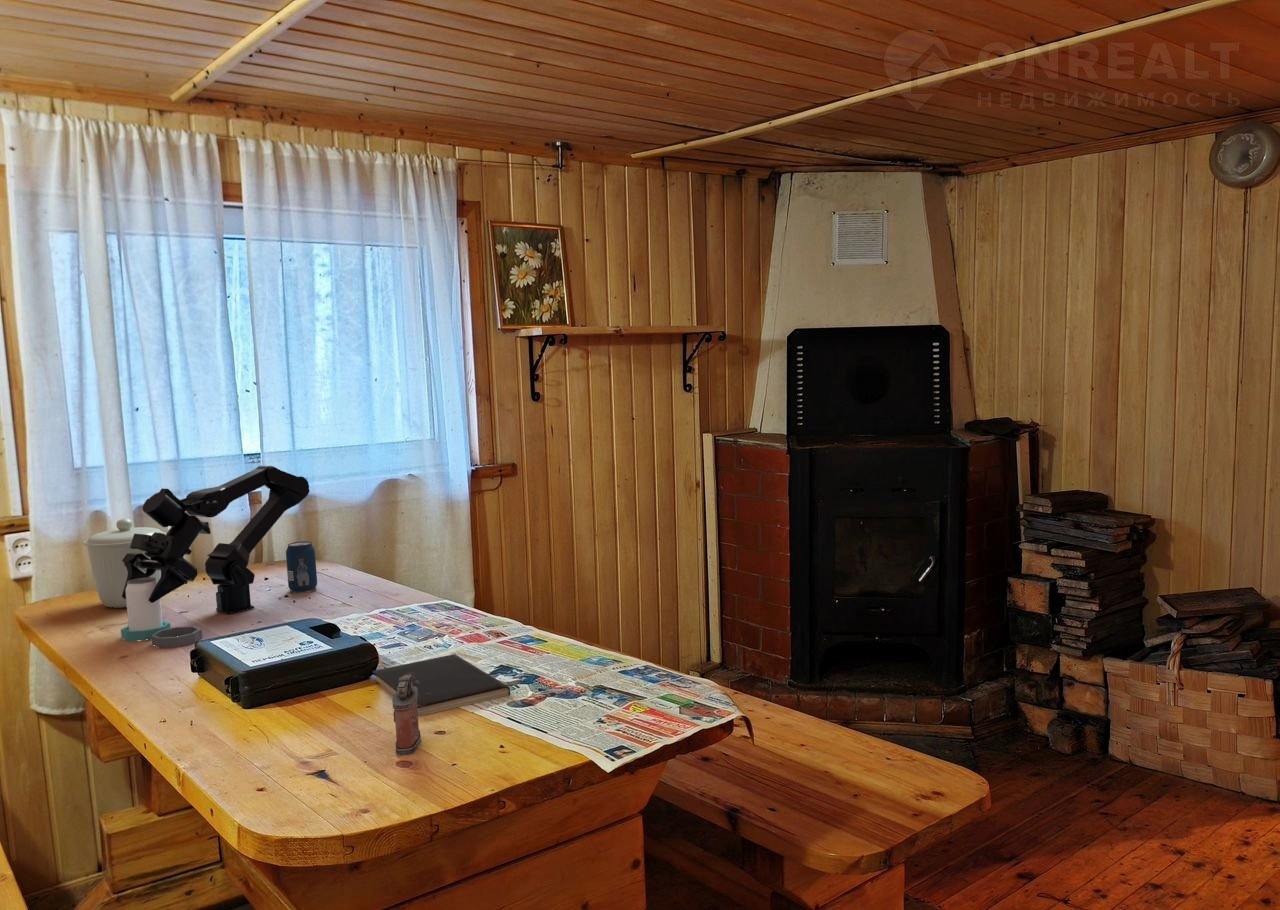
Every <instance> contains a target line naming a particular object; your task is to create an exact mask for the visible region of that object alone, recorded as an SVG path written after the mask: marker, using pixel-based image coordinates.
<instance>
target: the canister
mask: <svg viewBox="0 0 1280 910" xmlns="http://www.w3.org/2000/svg"><path fill="white" fill-rule="evenodd" d="M115 525H116V528H115V529H111V530H105V531H102V532H98V533H95V534H92V535H91V536H90V537H89V538H88V539H86V540H84V541H83V545H84V546H86V547H87V553H88V558H89V562H90V565H91V570H92V574H93V579H94V583H95V587H96V590H97V595H98V597H99V600H100V602H101V603H102V605H104V606H105V607H109V608H112V607H113V609H115V608H118V609H121V608H122V609H123V608H124V607H125V608H127V603H126V599H124V598H123V597H122V594H123V590H124V587H125V583H126V580H127V575H128V571H127V568H126V567H125V566H124V562H122V560H123V558H124V557H125V556H126V554H127V553H132V552H134V553H142V554H143V555H145V554H144V553H145V552H146V551H143V550H139V549H132V548H130V545H131V542H132V539H133V536H134V534H145V535H151V536H152V535H153V534H154V533H155V532H157V533H162V534H165V535H166V533H167V532H166V531H162V530H161V529H159V528H156V527H151V526H150V527H144V526H143V527H142V526H141V527H133V521H132V520H131V519H130V518H120V519H119V520H117V522H116V524H115ZM145 556H146V557H147V558H149V559H151V558H150V557H148V556H147V555H145ZM149 577H151V578H156V582H157V583H158V581H159V579H160V578H161V570H156V571H155V573H154V574H153V575H151V576H149Z"/></svg>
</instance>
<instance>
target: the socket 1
mask: <svg viewBox="0 0 1280 910" xmlns="http://www.w3.org/2000/svg"><path fill="white" fill-rule="evenodd" d="M162 624H163V626H161V627H159V628H155V629H150V630H146V631H129V624H127V625H126V626H124V627H122V628H121V629H120V636H121V639H122V638H123V639H125V640H124V641H126V640H127V641H126V642H128V641H129V642H138V641H137V640H146V639H151V635H153V634H155V633H156V632H158V631H160V630H165V629H169V628H171V622H169V621H167V620H163V619H162ZM123 639H122V640H123ZM151 640H152V639H151ZM146 641H147V640H146Z"/></svg>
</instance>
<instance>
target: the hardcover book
mask: <svg viewBox="0 0 1280 910" xmlns="http://www.w3.org/2000/svg"><path fill="white" fill-rule="evenodd" d="M372 673H373V674H374V676H375V681H376V682H377V683H379V684H380V685H382V686H383V687H384V688H385V689H386V690H387V691H389V692H390V693H391V694H392V695H393V696H394V695H395V693H396V692H397V687H398V685H399V677H403V676H404V675H411V683H412V686H415V687H417V690H418V698H417V709H418V717H422V716H427V715H431V714H436V713H439V712H444V711H448V710H453V709H456V708H460V707H465V706H469V705H473V704H477V703H481V702H482V703H483V702H486V701H489V700H493V699H494V700H495V699H499V698H503V697H506V696H507V697H508V696H511V689H510V688H511V687H510V686H508V685H507V684H505V683H503V682H501V681H500V680H498V679H497V678H495V677H493V676H492V675H490V674H488V673H487V672H485V671H484V670H482V669H480V668H478V667H477V666H475V665H474V664H472V663H471V662H469V661H467V660H465V659H464V658H463V657H460V656H459V655H457V654H456V653H453V654H448V655H444V656H439V657H433V658H429V659H424V660H419V661H415V662H411V663H404V664H400V665H395V666H390V667H385V668H381V669H376V670H372Z"/></svg>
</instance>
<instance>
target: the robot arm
mask: <svg viewBox="0 0 1280 910" xmlns="http://www.w3.org/2000/svg"><path fill="white" fill-rule="evenodd" d="M262 487H265V488H267V489H268V490H269V491H268V499H267V500H266V502H265V503H264V504H263V505H262V506H261V507H260V508H259V510H258V511H257V512H256V513H255V515H254V516H253V517H252V518H251V519H250V520H249V521H248V522H247V524H246V525H245V526H244V528H243V529H242V530H241V531H240V532H239V533H238V535H237V536H236V537H235V538H234V540H232V541H231V542H230V543H222V542H219V543H217V544H216V545H215V547H214V549H213V550H212V551H211V552H210V553H208V554H207V556H206V557H208V558H207V559H206V561H205V563H204V566H205V573H206V576H208V577H209V579H210V580H211V582H212V585H217V586H216V588H217V591H216V592H215V601H216V608H215V610H216V611H217V612H219V613H222V614H227V615H230V613H231V614H234V613H233V612H235V613H239V612H238V611H240V612H243V611H242V610H244V611H248V610H247V609H249V610H252V608H253V609H255V605H252V602H251V592H250V591H251V590H250V585H251V584H254V580H255V573H254V572H253V571H251V570H250V569H249V568H248V565H249V561H250V556H251V553H252V552H253V550H254V549H255V548H256V546H258V545H259V543H260V542H261V541H262V540H263V538H264V537H265V536H266V535H267V534H268V533H269V531H270V530H271V529H272V528H273V526H274V525H275V524H276V523H277V522H278V520H280V518H281V517H282V515H283V514H285V512H286V511H288V510H289V509H291V508H293V507H295V506H297V505H298V504H300V503H301V502H302V501H303V500H305V499H306V497H307V496H308V495H309V494H310V484H309V481H308V480H307V478H306V477H304V476H302V475H301V476H299V475H297V476H296V475H294V474H292V473H289V472H286V471H284V470H281V469H279V468H277V467H275V466H273V465H259V466H257V467H255V468H254V469H252V470H251V471H248V472H247V473H244V474H242V475H240V476H238V477H235V478H233V479H231V480H229V481H227V482H225V483H223V484H220V485H218V486H214V487H208V488H207V487H206V488H202V489H199V490H195V491H194V490H193V491H190V493H188V494H187V495H186V497H185V498H182V499H179V497H177V496H176V495H175V494H174V493H173V492H172V490H171V489H169V488H160V490H159V491H158V492H155V493H154V494H153V495H152V496H150V497H149V498H147V499H146V500H145V501H144V503H143V505H142V512H143V513H145V514H146V515H147V516H148V517H150V518H151V519H152V520H153V521H155V522H156V523H157V524H158V525H159V526H161V527H162V528H168V527H169V529H168V531H167V532H166V535H165V534H162V533H157V532H155V533H154V534H153V535H152V536H151V535H145V534H134V536H133V539H132V542H131V545H130V548H132V549H139V550H143V551H146V552H145V553H144V554H145V555H147V556H148V557H150V558H151V559H149V558H147V557H146V556H145V555H143V554H142V553H134V552H132V553H127V554H126V556H125V557H124V558H123V560H122V562H124V566H125V567H126V568H127V571H128V575H127V580H126V583H125V587H124V590H123V594H122V597H123V598H124V599H126V587H127V582H128V581H130V580H133V579H138V578H148V577H149V576H151V575H153V574H154V573H155V571H156V570H161V578H160V579H159V581H158V583H157V585H156V586H155V588H154V590H153V592H152V593H151V595H150V598H149V601H150V602H151V603H154V602H155V601H157V600H158V599H160V600H161V598H163V597H165V596H166V595H168V594H170V593H171V592H173V591H175V590H177V589H179V588H180V587H182V586H183V585H187V584H189V582H192V583H193V582H194V581H195V579H196V578H197V576H198V568H197V567H196V566H194V565H193V564H192V563H191V562H189V561H188V560H187V559H186V558H184V557H185V556H190V555H191V553H192V552H193V550H191V549H190V548H191V546H192V545H193V544H194V542H195V541H196V539H197V538H198V536H199V535H200V534H201V535H202V534H203V535H210V534H211V528H210V524H209V523H210V522H208V521H202V520H201V519H200V518H215V517H217V516H218V515H220V514H221V513H222V512H224V511H225V510H226V509H228V506H229V505H230V504H231V503H232V502H233V501H235V500H237V499H240V498H241V497H243V496H246V495H248V494H249V493H252V492H253V491H255V490H259V489H260V488H262ZM199 517H200V518H199Z"/></svg>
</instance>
